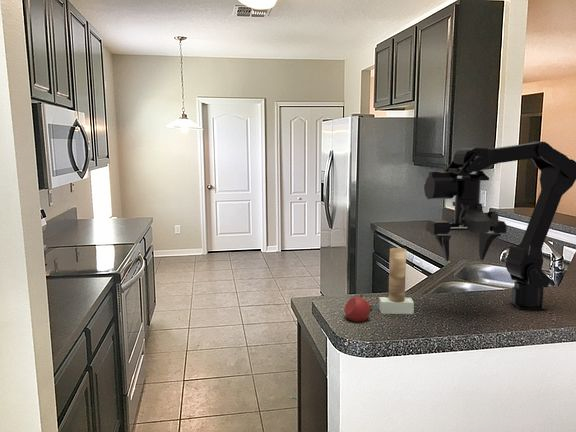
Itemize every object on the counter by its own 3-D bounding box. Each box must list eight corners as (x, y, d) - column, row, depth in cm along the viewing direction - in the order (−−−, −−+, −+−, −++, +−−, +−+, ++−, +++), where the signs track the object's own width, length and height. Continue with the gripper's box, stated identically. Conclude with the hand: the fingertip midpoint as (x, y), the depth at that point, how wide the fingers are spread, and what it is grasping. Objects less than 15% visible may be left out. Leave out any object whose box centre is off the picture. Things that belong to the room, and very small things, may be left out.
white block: (410, 309, 126) (410, 297, 126) (413, 314, 122) (413, 302, 122) (379, 308, 127) (379, 297, 126) (381, 313, 123) (381, 302, 122)
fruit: (368, 330, 117) (384, 301, 117) (348, 321, 115) (365, 291, 115) (357, 322, 123) (373, 294, 123) (339, 312, 121) (355, 284, 121)
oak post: (405, 298, 125) (407, 248, 124) (403, 303, 122) (405, 251, 120) (389, 296, 127) (391, 247, 125) (387, 301, 123) (388, 250, 121)
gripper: (445, 202, 113) (442, 268, 115) (521, 201, 115) (517, 266, 117) (426, 197, 124) (423, 258, 126) (496, 197, 126) (492, 256, 128)
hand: (464, 260), depth 124 cm, fingers open, 9 cm apart
